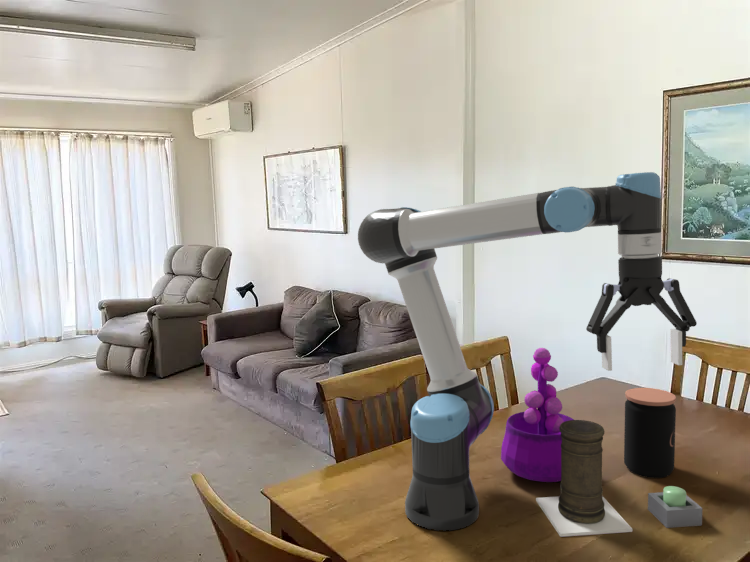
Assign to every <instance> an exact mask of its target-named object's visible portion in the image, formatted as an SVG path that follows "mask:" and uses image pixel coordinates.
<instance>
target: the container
mask: <svg viewBox="0 0 750 562" xmlns="http://www.w3.org/2000/svg"><path fill="white" fill-rule="evenodd" d="M559 430H560V432H561V438H562V443H561V481H560V484H559V486H560V487H559V488H560V494H559V504H558V509H559V512H560V514H561V515H562V516H564V517H565V518H567V519H569V520H571V521H574V522H578V523H584V524H594V523H598V522H600V521H602V520H603V518H604V516H605V509H604V502H603V500H602V496H603V492H604V490H603V471H602V470H603V450H604V449H603V440H604V437H603V436H605V433H606V431H605V429H604V427H603V426H602V425H601V424H599V423H597V422H594V421H589V420H584V419H574V420H569V421H565V422H563V423H561V425H560V427H559Z"/></svg>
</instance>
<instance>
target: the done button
mask: <svg viewBox="0 0 750 562" xmlns="http://www.w3.org/2000/svg"><path fill="white" fill-rule="evenodd" d="M662 492H663V501H664V502H665V503H666V504H667V505H668V506H669V507H678V506H686V495H687V492H686V490H685V489H684V488H681V487H679V486H674V485H668V486H664V487H663V490H662Z"/></svg>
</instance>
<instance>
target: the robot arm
mask: <svg viewBox="0 0 750 562" xmlns="http://www.w3.org/2000/svg"><path fill="white" fill-rule="evenodd" d="M661 188H662V187H661V177H660V175H658V174H657V173H655V172H654V171H653V172H652V171H650V172H647V171H646V172H645V171H644V172H635V173H626V174H624V173H623V174H619V175H618V176H617V177H616V180H615V184H614V185H608V186H601V187H600V186H597V187H596V186H595V187H576V186H564V187H560V188H558V189H554V190H547V191H542V192H535V193H534V192H533V193H529V194H523V195H522V194H521V195H516V196H510V197H505V198H499V199H497V198H496V199H492V200H485V201H480V202H479V201H478V202H474V203H472V202H471V203H467V204H460V205H454V206H449V207H443V208H437V209H429V210H419V209H417V208H412V207H403V206H402V207H400V208H399V207H398V208H383V209H382V208H381V209H378V210H374V211H372V212H370V213H369V214H368V215H366V216H365V217H364V219H362V222H361V223H360V225H359V228H358V231H357V241H358V245H359V248H360V250H361V252H362V253H363V255H365V256H366V257H367V258H368V259H369V260H371V261H373V262H374V263H378V264H384V265H385V268H386V271H387V273H388V276H391V277H393V278H395V279H396V280H397V282H398V285H399V289H400V292H401V294H402V297H403V301H404V304H405V305H406V306H405V307H406V310H407V312H408V315H409V319H410V322H411V324H412V328H413V330H414V334H415V337H416V338H417V339H416V341H417V342H418V345H419V348H420V350H421V354H422V357H423V360H424V364H425V366H426V368H427V372H428V374H429V378H430V382H429V383H428V386H427V388H426V391H427V393H428V395H426V396H423V397H422V398H419V399H418V400H417V401H415V403H414V404H413V406H412V408H411V412H410V413H411V414H410V425H409V426H410V432H411V433H410V435H411V436H410V437H411V438H410V439H411V460H412V461H411V462H412V465H411V466H412V477H411V480H410V483H409V487H408V490H407V493H406V497H405V501H404V507H405V508H404V509H405V510H404V511H405V515H407V516H406V517H407V519H408V518H409V519H410V520H411V521H412V522H411V521H410V520H409V521H410V522H411V523H413V522H414V523H416V524H418V525H419V526H418V525H417V526H418V527H420V526H422V527H421V528H423V527H425V528H424V529H426V528H427V529H426V530H431V529H434V530H433V531H439V530H443V531H444V532H445V531H446V530H449V531H456V530H460V528H461V529H464V528H466V526H467V527H468V526H471V525H472V524H473V523H475V522H476V521H477V520H478V518H479V515H480V504H479V500H478V497H477V496H478V495H477V493H476V491H475V487H474V485H473V482H472V479H471V473H470V447H471V446H472V445H473V444H474V443H475V441H476V440H477V439H478V438H479V436H481V435H482V434H483V433H484V432H485V431H486V430H487V429H488V428H489V426H490V423H491V421H492V420H493V416H494V411H495V407H494V399H493V398H492V395H491V392H490V391H489V390H488V389H487V388H486V387H485V385H483V384H481V383H480V381H479V378H478V374H477V372H475V371H474V370H471V369H469V368H468V365H467V363H466V360H465V357H464V353H463V351H462V349H461V348H462V347H461V345H460V343H459V339H458V336H457V333H456V331H455V328H454V325H453V322H452V319H451V316H450V312H449V310H448V307H447V304H446V301H445V297H444V295H443V292H442V289H441V286H440V283H439V280H438V277H437V273H436V272H435V267H434V266H435V264H436V262H437V260H438V256H437V253H436V250H435V249H441V248H448V247H456V246H463V245H470V244H471V245H472V244H473V245H474V244H479V243H486V242H493V241H494V242H495V241H501V240H502V241H503V240H510V239H516V238H517V239H518V238H523V237H525V238H526V237H533V236H540V235H550V234H556V233H557V234H559V233H573V232H577V231H580V230H582V229H585V228H591V227H605V226H607V227H610V226H611V227H612V226H617V254H618V255H619V256H621V257H619V259H618V262H617V263H618V280H619V281H618V283H617V284H611V283H607V282H603V284H602V285H601V295H600V297H599V299H598V301H597V304H596V306H595V308H594V310H593V313H592V315H591V317H590V320H589V321H588V324H587V326H586V331H587V332H588V333H591V334H593V335H596V348H597V349H596V350H597V351H598V353H600V354H601V368H603V369H604V370H606V371H608V372H609V371H610V372H611V371H613V361H612V359H613V358H612V357H613V356H612V355H613V354H612V353H613V352H612V351H613V350H612V336H610V335H609V333H610V331H611V330H612V329H613V328H614V327H615V325H616V323H617V322H619V320H620V318H622V316H623V315H624V313H625V312H626V311H627V310H628V309H630V308H631V306H633V307H638V306H642V305H645V306H652V304H653V305H654V306H655V307H656V308H657V309H658V310H659V312H660V313H661V314H662V315H664V317H665V318H666V319H667V321H668V322H670V324H671V325H672V326H673V327H674V328H670V363H673V364H675V365H677V366H683V347H686V345H687V332H689V331H690V330H691V329H690V328H692V327H696V326H697V321H696V318H695V317H694V314H693V313H692V311H691V309H690V306H689V305H688V303H687V301H686V300H685V297H684V296H683V294H682V292H681V287H680V282H679V279H675V278H670V277H669V278H667V279H666V280H662V275H663V258H662V256H659V254H661V253H662V252H663V250H662V249H663V247H662V240H663V239H662V238H663V237H662V189H661ZM663 289H664V290H665V291H666V292H667V293H668V296H669V298H670V300H671V301H672V303H673V305H674V307H675V309H676V311H677V313H678V314H677V313H676V312H675V311H674V310H673V309H672V308H671V306H670V305H669V304H668V303H667V301H666V300H665V298H664V297H663V296H661V292H663ZM617 292H618V293H619V295H620V296H619V297H618V299H617V300H616V301H615V305H614V306H613V307H612V308H611V310H610V311H609V312H608V310H609V308H610V305H611V303H612V301H613V299H614V296H615V295H616V294H617ZM607 312H608V313H607ZM606 314H607V315H606ZM414 523H413V524H414ZM416 524H415V525H416Z"/></svg>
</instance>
